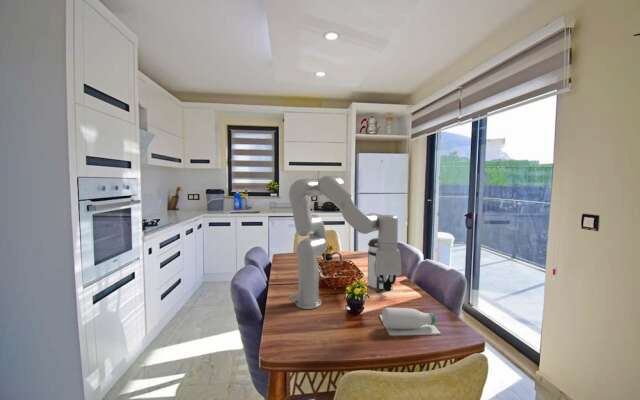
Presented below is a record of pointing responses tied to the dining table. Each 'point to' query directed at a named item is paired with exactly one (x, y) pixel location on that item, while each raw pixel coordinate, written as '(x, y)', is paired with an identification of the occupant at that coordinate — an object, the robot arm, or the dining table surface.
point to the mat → (414, 330)
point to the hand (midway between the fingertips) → (387, 290)
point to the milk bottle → (406, 318)
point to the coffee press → (372, 279)
